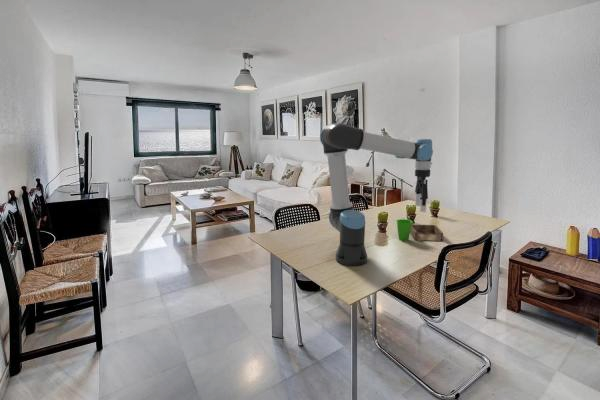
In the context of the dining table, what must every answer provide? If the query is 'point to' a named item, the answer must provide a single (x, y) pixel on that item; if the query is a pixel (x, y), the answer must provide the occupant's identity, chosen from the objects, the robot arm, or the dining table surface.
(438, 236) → the wooden tray
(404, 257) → the dining table surface
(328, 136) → the robot arm
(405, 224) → the cup
